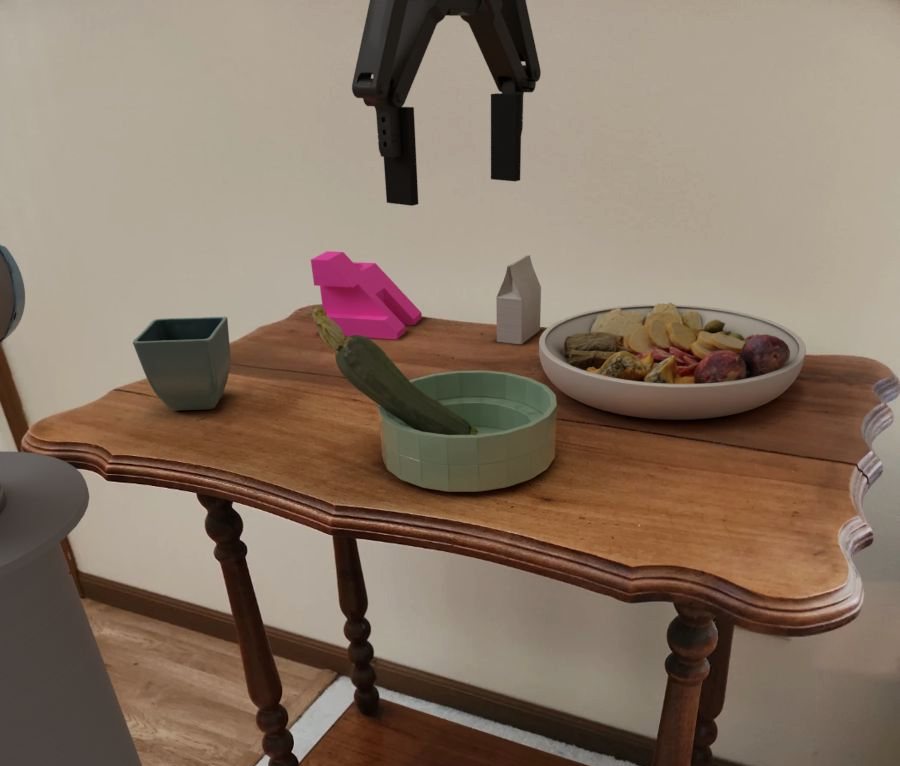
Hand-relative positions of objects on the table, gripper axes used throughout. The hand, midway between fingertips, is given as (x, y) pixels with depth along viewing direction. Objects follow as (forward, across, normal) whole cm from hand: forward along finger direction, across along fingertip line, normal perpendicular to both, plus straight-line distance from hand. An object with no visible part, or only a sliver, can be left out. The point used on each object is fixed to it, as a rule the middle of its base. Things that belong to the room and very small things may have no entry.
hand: (457, 191), depth 68 cm
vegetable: (+24, +1, 0) cm, 24 cm away
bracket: (+25, +27, +40) cm, 54 cm away
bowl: (+24, +30, -6) cm, 39 cm away
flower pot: (+25, -7, +36) cm, 44 cm away
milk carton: (+24, +35, +18) cm, 47 cm away
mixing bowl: (+24, 0, 0) cm, 24 cm away
